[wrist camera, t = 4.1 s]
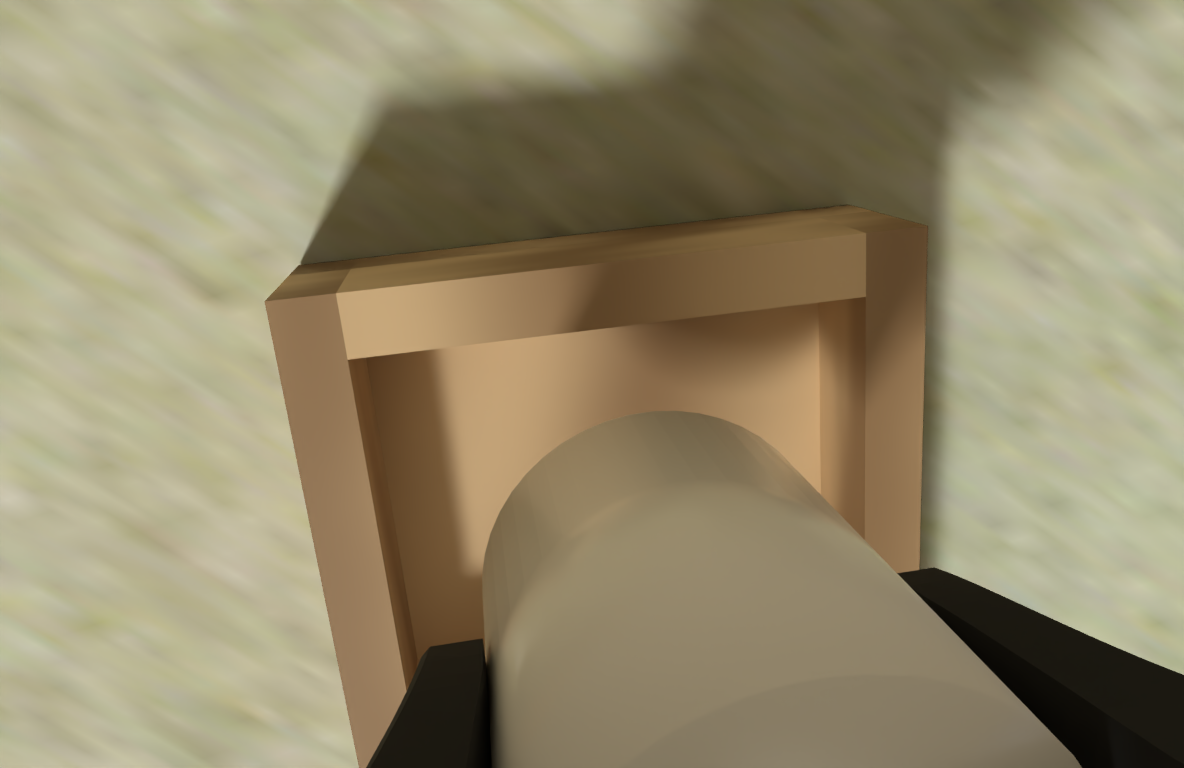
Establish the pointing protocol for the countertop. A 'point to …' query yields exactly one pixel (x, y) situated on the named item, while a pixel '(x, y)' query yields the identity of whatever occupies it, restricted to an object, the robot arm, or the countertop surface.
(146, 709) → the countertop surface
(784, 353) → the tray
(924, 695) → the cream cylinder
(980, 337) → the countertop surface
